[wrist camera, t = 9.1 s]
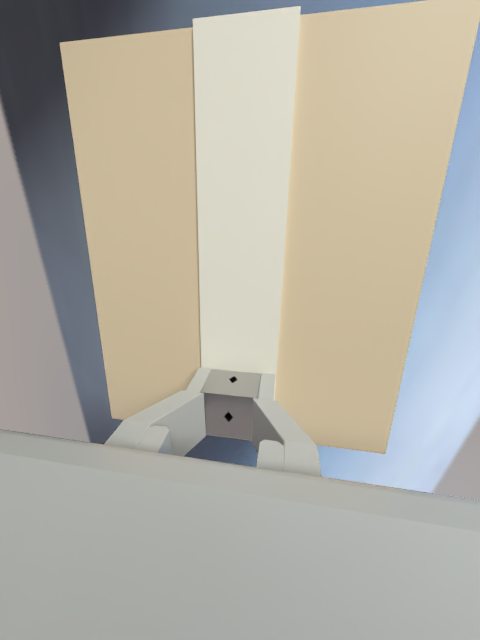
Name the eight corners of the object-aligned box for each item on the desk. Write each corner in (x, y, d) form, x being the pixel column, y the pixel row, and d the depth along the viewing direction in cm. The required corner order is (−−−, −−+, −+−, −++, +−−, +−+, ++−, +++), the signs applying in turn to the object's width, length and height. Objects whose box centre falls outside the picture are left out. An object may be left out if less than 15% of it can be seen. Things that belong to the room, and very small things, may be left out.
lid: (78, 58, 9) (54, 35, 8) (462, 19, 7) (492, -18, 6) (122, 408, 13) (109, 421, 12) (377, 440, 11) (387, 458, 10)
